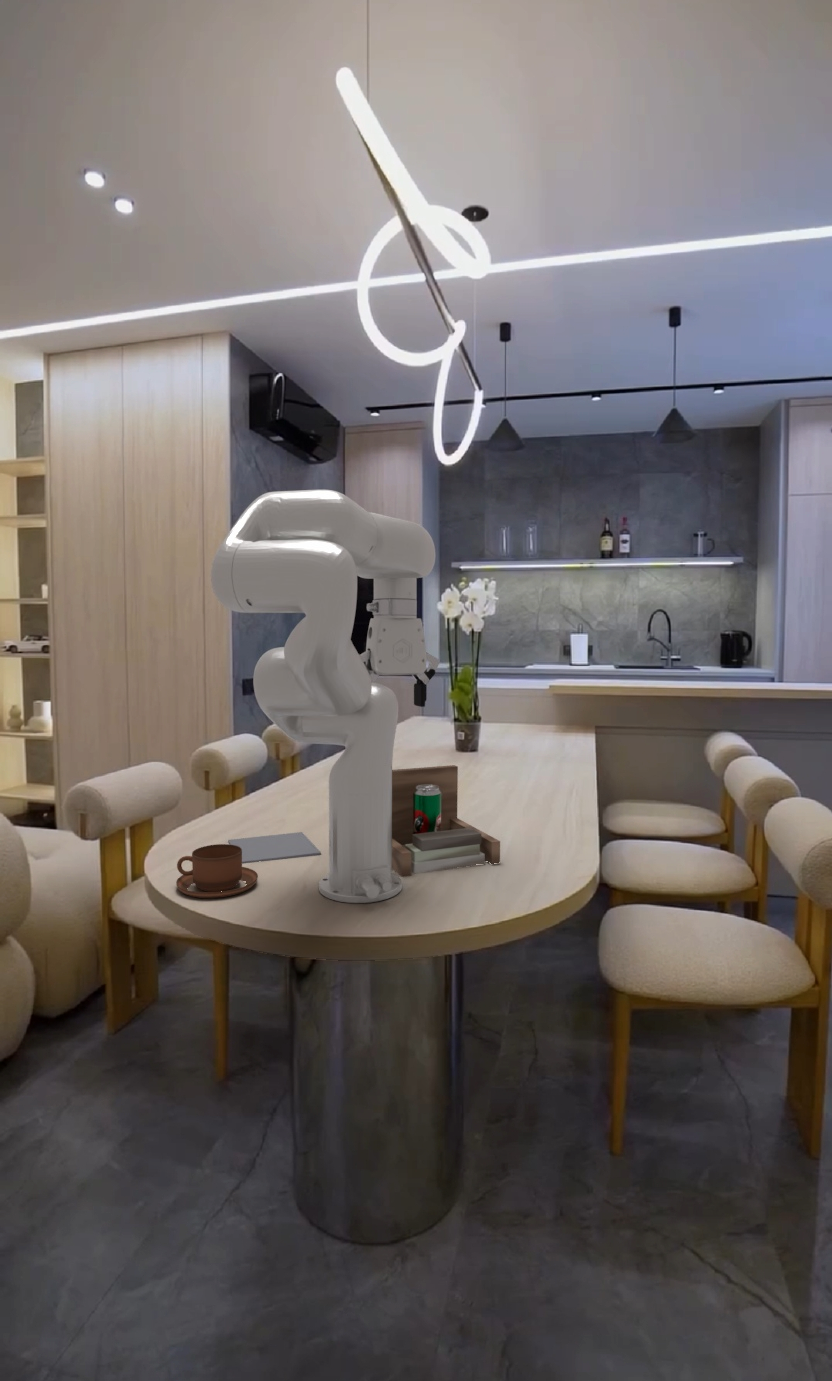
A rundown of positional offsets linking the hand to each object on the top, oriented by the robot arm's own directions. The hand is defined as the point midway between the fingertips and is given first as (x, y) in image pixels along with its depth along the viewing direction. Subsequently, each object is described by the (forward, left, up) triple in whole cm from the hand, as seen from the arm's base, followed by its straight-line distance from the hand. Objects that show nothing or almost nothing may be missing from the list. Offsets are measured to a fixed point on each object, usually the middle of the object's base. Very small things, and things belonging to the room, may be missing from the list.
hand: (395, 707), depth 125 cm
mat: (+10, +20, -26) cm, 34 cm away
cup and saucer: (-8, +32, -27) cm, 42 cm away
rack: (-4, -5, -26) cm, 27 cm away
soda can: (-3, -5, -26) cm, 27 cm away
